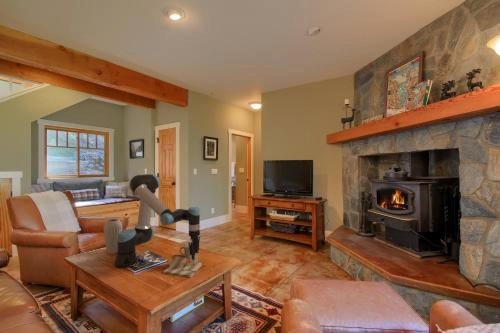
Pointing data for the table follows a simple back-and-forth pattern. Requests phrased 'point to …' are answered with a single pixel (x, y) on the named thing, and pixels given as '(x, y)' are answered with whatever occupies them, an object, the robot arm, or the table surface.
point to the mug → (186, 251)
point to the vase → (112, 235)
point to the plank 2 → (192, 266)
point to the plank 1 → (178, 263)
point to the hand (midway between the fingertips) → (194, 263)
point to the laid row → (179, 272)
